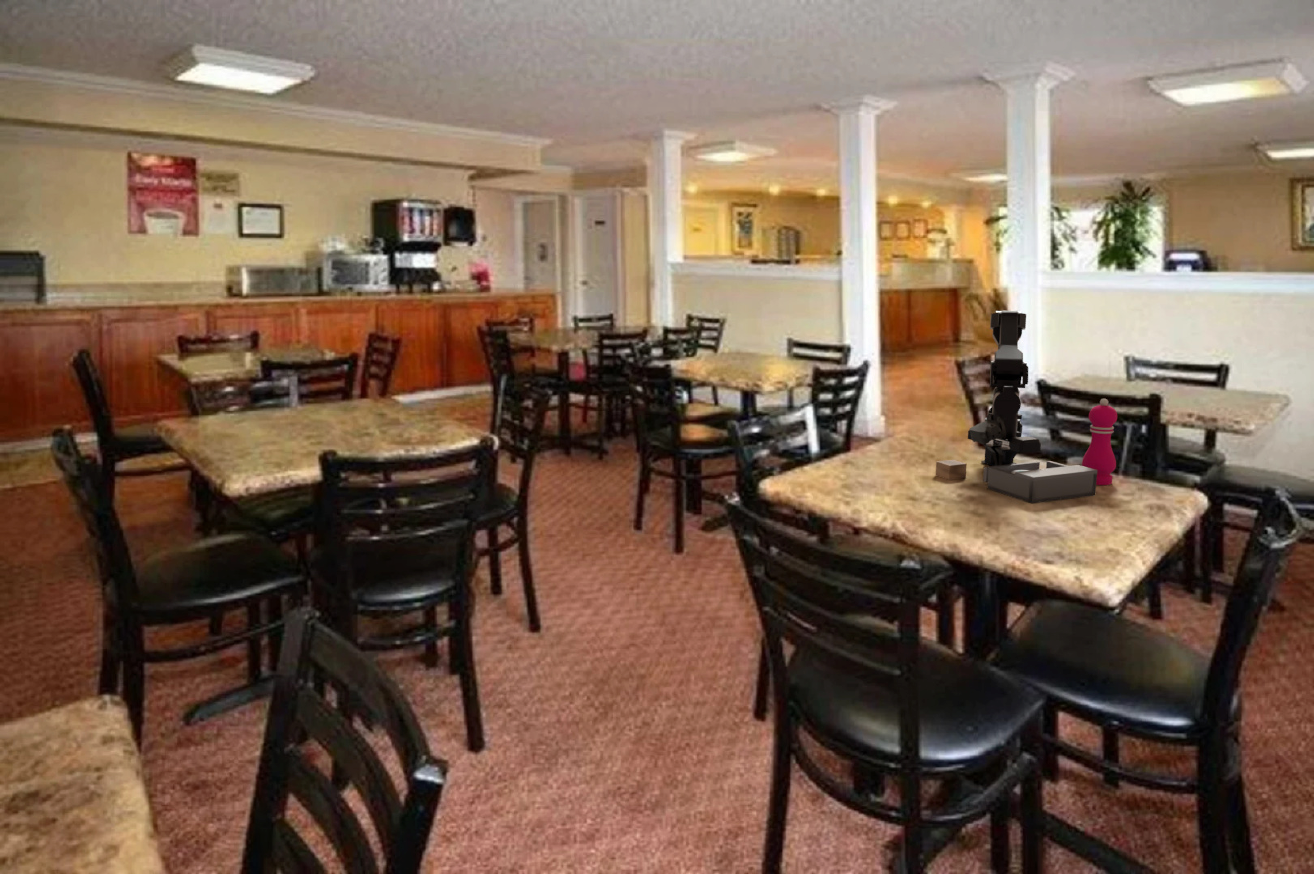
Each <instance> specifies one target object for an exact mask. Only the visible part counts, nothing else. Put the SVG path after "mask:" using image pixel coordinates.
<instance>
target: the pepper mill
mask: <svg viewBox="0 0 1314 874" xmlns="http://www.w3.org/2000/svg"><path fill="white" fill-rule="evenodd" d="M1099 404H1100V405H1096V406H1093V407H1092V408H1091V410H1089V413H1088V419H1089V420H1088V421H1090V423H1091V424H1090V426H1089V427H1090V429H1089V431H1090V432H1091V439H1090V443H1089V447H1088V449H1087V450H1086V451H1085V454H1084V455H1083V457H1082V461H1081V466H1084V467H1088V468H1092V469H1096V470H1097V481H1096V486H1109V485H1112V483H1113V475H1112V474H1111V473H1113V472H1114V471H1115V469H1116V468H1117V460H1116V457H1115V454H1114V452H1113V448H1112V443H1111V439H1112V438H1111V437H1112V434H1113V433H1114V432H1115V431H1114V429H1115V427H1114V426H1113V425H1114V424H1116V422H1117V420H1118V412H1117V410H1116V409H1115V408H1113V407H1112V406H1111V405H1109V400H1108V399H1106V398H1101V399H1100V401H1099Z"/></svg>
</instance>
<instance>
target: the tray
mask: <svg viewBox="0 0 1314 874" xmlns="http://www.w3.org/2000/svg"><path fill="white" fill-rule="evenodd" d="M1016 463H1017V464H1008V465H999V466H991V465H989V466H984V467H983V474H982V475H983V476H982V477H983V478H982V482H984V483H988V470H989V468H990V467H993V468H996V469H1000V470H1003V471H1006V472H1010V473H1011V472H1012V471H1015V470H1038V469H1040V461H1037V460H1036V461H1027V462H1016Z"/></svg>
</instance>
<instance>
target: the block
mask: <svg viewBox="0 0 1314 874" xmlns="http://www.w3.org/2000/svg"><path fill="white" fill-rule="evenodd" d="M935 476H937V477H940V478H943V479H945V480H948V481H949V480H959V479H966V478H967V463H965V462H963V461H962V462H961V461H959V460H955V459H947V460H938V461H937V460H936V462H935Z"/></svg>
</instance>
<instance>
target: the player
mask: <svg viewBox="0 0 1314 874" xmlns="http://www.w3.org/2000/svg"><path fill="white" fill-rule="evenodd" d="M1045 465H1046V467H1045V468H1041V469H1040V468H1039V469H1038V470H1029V471H1020V472H1015V474H1013V473H1010V472H1006V471H1003V470H1000V469H996V468H993V467H990V466H989V467H990V468H989V470H988V482H987V488H986V489H987V490H990V491H994V492H996V493H999V494H1002V495H1005V496H1008V497H1011V498H1014V499H1016V500H1020V501H1023V502H1026V503H1030V504H1038V503H1044V502H1045V503H1046V502H1053V501H1060V500H1069V499H1076V498H1085V497H1092V496H1096V493H1097V492H1096V490H1097V489H1096V488H1097V485H1096V481H1097V470H1096V469H1092V468H1088V467H1084V466H1082V465H1079V464H1075V465H1067V464H1062V463H1059V462H1056V461H1055V462H1054V461H1051V460H1047V461H1046V464H1045Z"/></svg>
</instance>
